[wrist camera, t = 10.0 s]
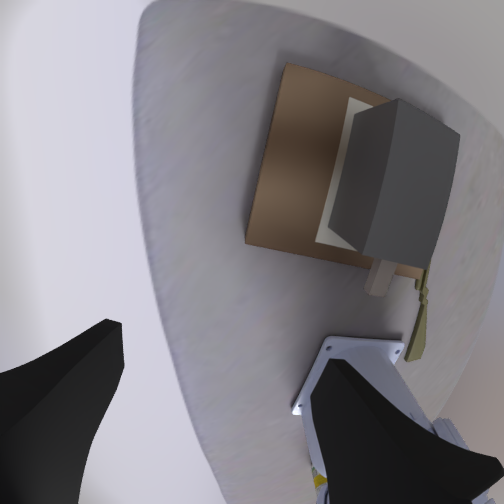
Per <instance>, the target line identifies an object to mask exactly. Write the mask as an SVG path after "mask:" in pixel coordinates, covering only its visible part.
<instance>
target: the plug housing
mask: <svg viewBox="0 0 504 504" xmlns="http://www.w3.org/2000/svg"><path fill="white" fill-rule="evenodd" d="M459 141H460V134H458V133H457V132H455V131H454V130H452V129H451V128H449V127H448V126H446V125H445V124H443V123H441V122H440V121H438V120H437V119H435V118H433V117H432V116H430V115H428V114H427V113H425V112H423V111H421V110H420V109H418V108H416V107H414V106H412V105H411V104H409V103H407V102H405V101H403V100H401V99H399V98H398V99H395V100H392V101H389V102H386V103H383V104H380V105H378V106H375V107H372V108H369V109H366V110H364V111H361V112H358V113H356V114H354V118H353V123H352V128H351V133H350V138H349V142H348V147H347V151H346V156H345V160H344V164H343V169H342V173H341V177H340V181H339V185H338V189H337V193H336V197H335V201H334V205H333V209H332V212H331V216H330V220H329V223H328V228H330V229H331V230H332V231H333V232H335V233H336V234H337V235H338V236H340V237H341V238H342V239H343V240H345V241H346V242H347V243H348V244H350V245H351V246H352V247H353V248H354V249H356V250H357V251H358V252H359V253H361V254H362V255H365V256H369V257H374V261H373V263H372V266H371V269H370V272H369V275H368V277H367V280H366V283H365V286H364V288H363V289H364V290H365V291H366V292H367V293H368V294H369V295H373V296H380V297H385V295H386V293H387V290H388V288H389V285H390V283H391V280H392V278H393V275H394V272H395V270H396V267H397V264H398V263H399V264H404V265H408V266H412V267H416V268H420V269H424V270H427V269H428V266H429V263H430V260H431V258H432V255H433V252H434V249H435V246H436V243H437V240H438V237H439V233H440V230H441V227H442V223H443V220H444V216H445V212H446V208H447V204H448V200H449V196H450V192H451V187H452V183H453V178H454V173H455V167H456V161H457V155H458V149H459Z"/></svg>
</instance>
